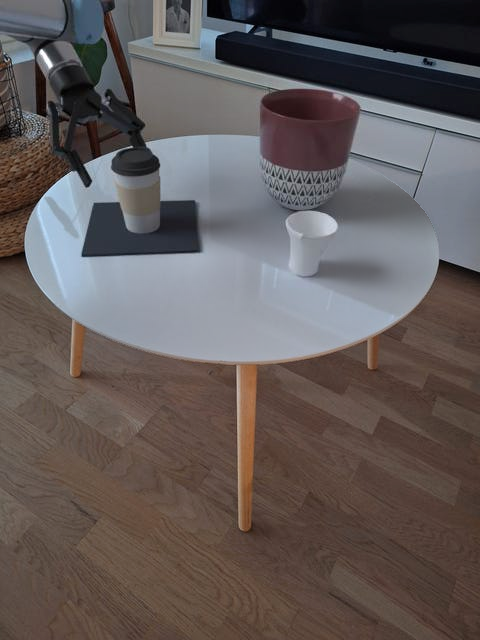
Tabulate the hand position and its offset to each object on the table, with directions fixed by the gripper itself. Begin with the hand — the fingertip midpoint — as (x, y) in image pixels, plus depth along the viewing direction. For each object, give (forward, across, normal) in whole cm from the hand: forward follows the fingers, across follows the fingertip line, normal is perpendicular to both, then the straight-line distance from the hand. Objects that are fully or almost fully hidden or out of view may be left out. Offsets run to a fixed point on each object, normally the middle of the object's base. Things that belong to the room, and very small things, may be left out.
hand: (119, 174), depth 92 cm
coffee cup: (+11, 0, -2) cm, 11 cm away
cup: (+33, -14, +20) cm, 42 cm away
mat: (+11, 0, -2) cm, 11 cm away
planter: (+21, -32, +8) cm, 39 cm away
